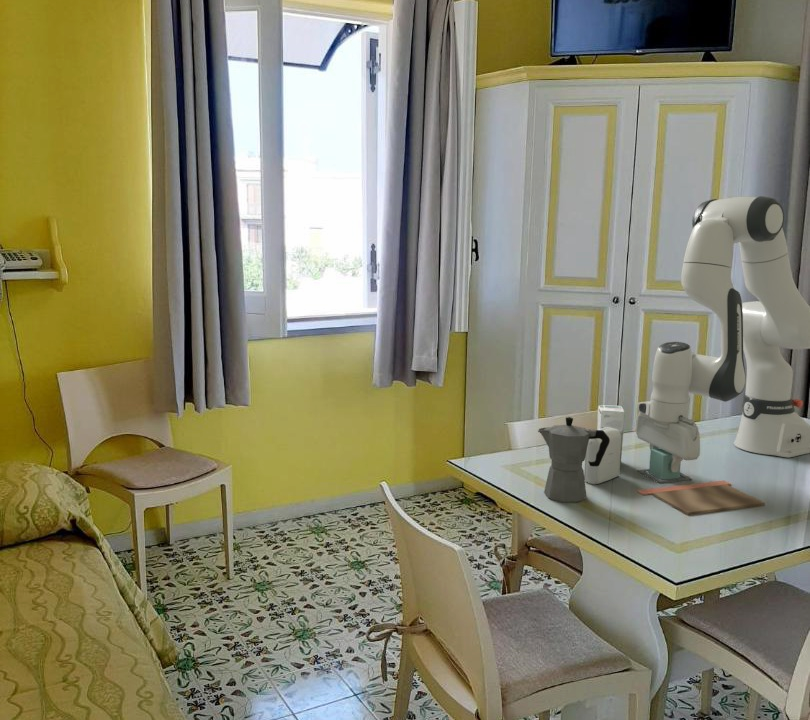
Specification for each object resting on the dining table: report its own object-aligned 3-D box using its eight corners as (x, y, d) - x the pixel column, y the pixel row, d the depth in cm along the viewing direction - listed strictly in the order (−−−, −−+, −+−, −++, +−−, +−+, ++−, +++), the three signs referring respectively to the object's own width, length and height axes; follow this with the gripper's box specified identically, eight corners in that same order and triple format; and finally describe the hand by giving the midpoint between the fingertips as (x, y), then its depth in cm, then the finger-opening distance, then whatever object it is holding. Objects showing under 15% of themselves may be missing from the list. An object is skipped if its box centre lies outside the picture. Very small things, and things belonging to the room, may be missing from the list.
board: (726, 487, 185) (726, 484, 185) (764, 505, 173) (764, 502, 173) (652, 495, 178) (652, 493, 178) (687, 515, 167) (687, 512, 167)
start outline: (668, 467, 198) (668, 466, 198) (691, 479, 189) (692, 478, 189) (637, 471, 195) (637, 470, 195) (659, 483, 186) (659, 482, 186)
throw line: (724, 481, 188) (724, 480, 188) (731, 485, 186) (731, 483, 186) (636, 491, 181) (636, 490, 181) (642, 495, 179) (642, 494, 178)
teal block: (666, 471, 195) (668, 447, 194) (679, 477, 191) (681, 453, 189) (648, 473, 194) (650, 449, 192) (661, 479, 189) (663, 455, 188)
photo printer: (596, 486, 184) (599, 434, 182) (581, 481, 187) (583, 430, 185) (621, 476, 191) (625, 426, 188) (606, 472, 194) (609, 423, 192)
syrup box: (617, 460, 203) (621, 404, 201) (621, 467, 198) (625, 410, 195) (594, 459, 204) (597, 403, 201) (597, 466, 198) (601, 409, 195)
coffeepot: (533, 499, 175) (536, 420, 171) (537, 485, 184) (540, 409, 180) (605, 507, 171) (610, 426, 168) (606, 492, 180) (611, 415, 177)
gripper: (709, 421, 180) (704, 479, 183) (654, 400, 199) (650, 453, 202) (686, 423, 178) (681, 482, 181) (633, 402, 197) (629, 455, 200)
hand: (664, 467), depth 192 cm, fingers closed on teal block, 5 cm apart
